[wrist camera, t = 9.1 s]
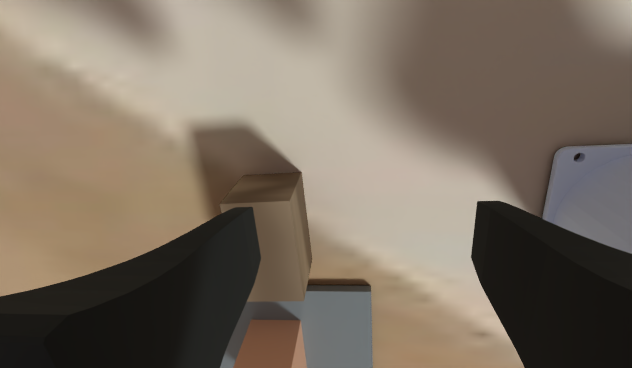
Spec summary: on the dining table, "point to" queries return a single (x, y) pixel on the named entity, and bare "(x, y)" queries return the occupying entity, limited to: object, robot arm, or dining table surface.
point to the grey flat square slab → (318, 325)
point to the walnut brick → (276, 233)
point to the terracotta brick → (272, 345)
